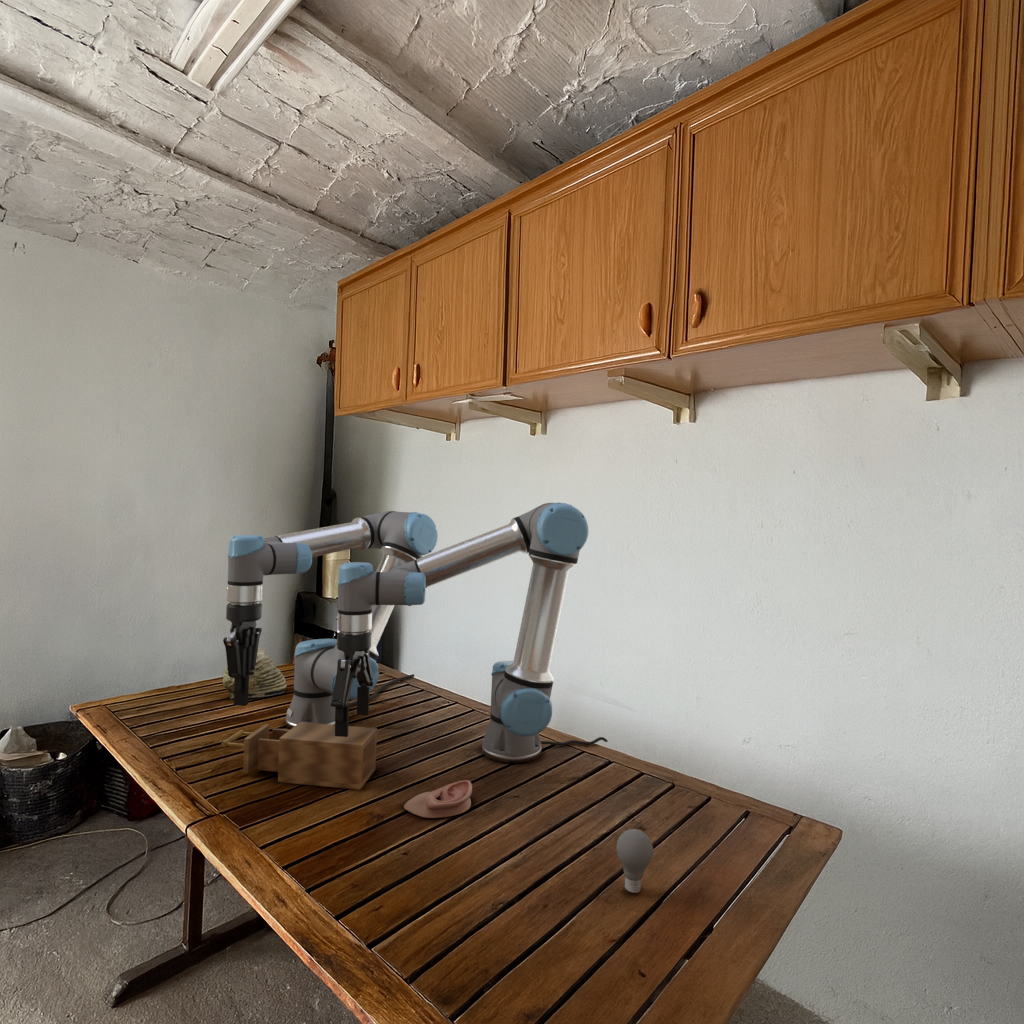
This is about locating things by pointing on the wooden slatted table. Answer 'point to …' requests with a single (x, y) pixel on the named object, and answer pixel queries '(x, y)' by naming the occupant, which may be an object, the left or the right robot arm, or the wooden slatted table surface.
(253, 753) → the drawer
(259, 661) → the fossil
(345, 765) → the cabinet
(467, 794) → the anatomical model
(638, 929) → the wooden slatted table surface
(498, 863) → the wooden slatted table surface
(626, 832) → the light bulb
